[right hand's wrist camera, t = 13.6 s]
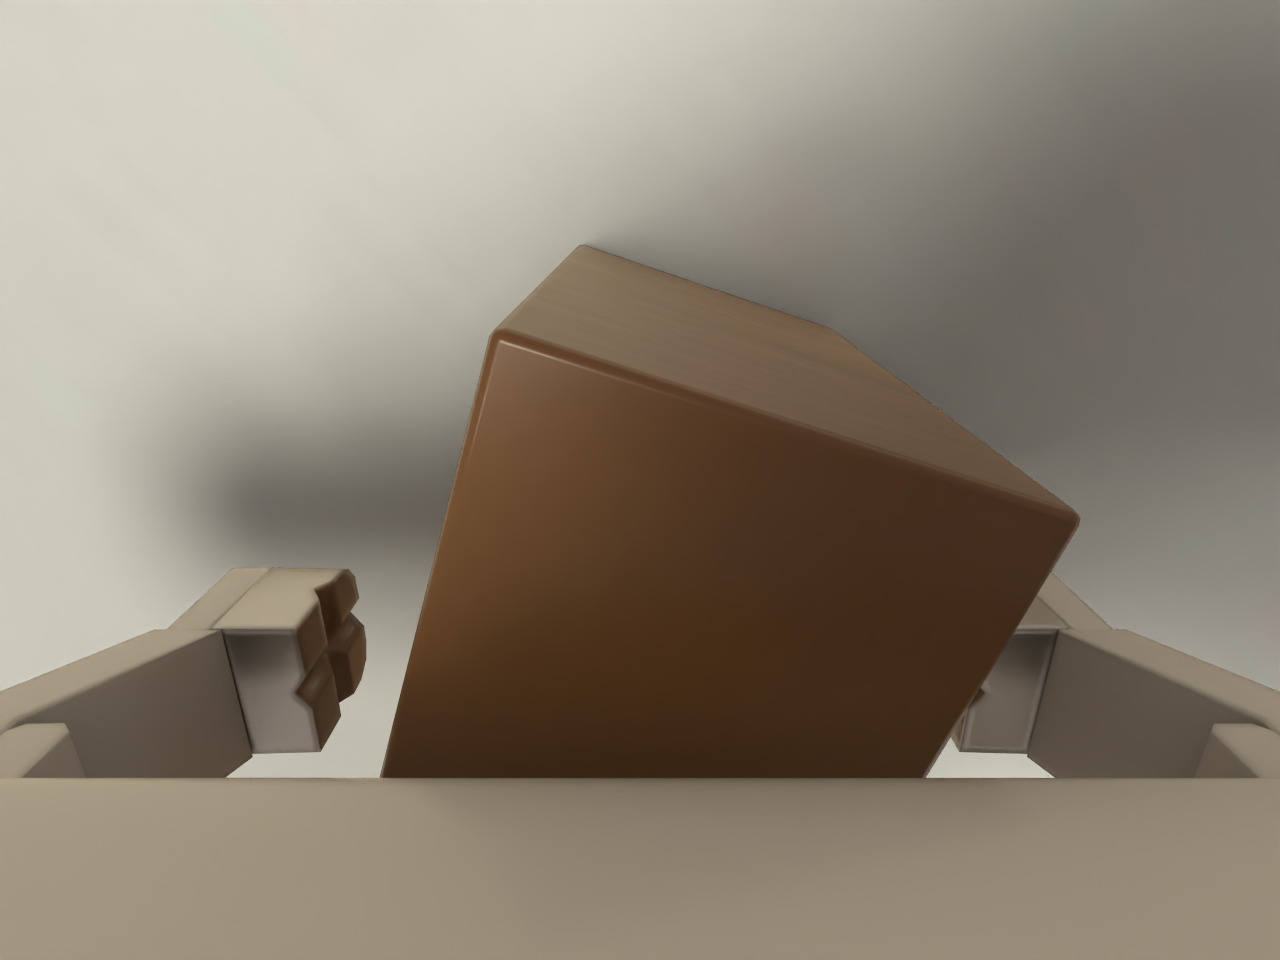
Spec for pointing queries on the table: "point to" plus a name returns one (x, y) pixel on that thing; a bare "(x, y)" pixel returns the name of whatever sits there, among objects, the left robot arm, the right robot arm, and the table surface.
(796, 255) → the table surface
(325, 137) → the table surface
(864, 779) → the right robot arm
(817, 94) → the table surface
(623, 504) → the bar
